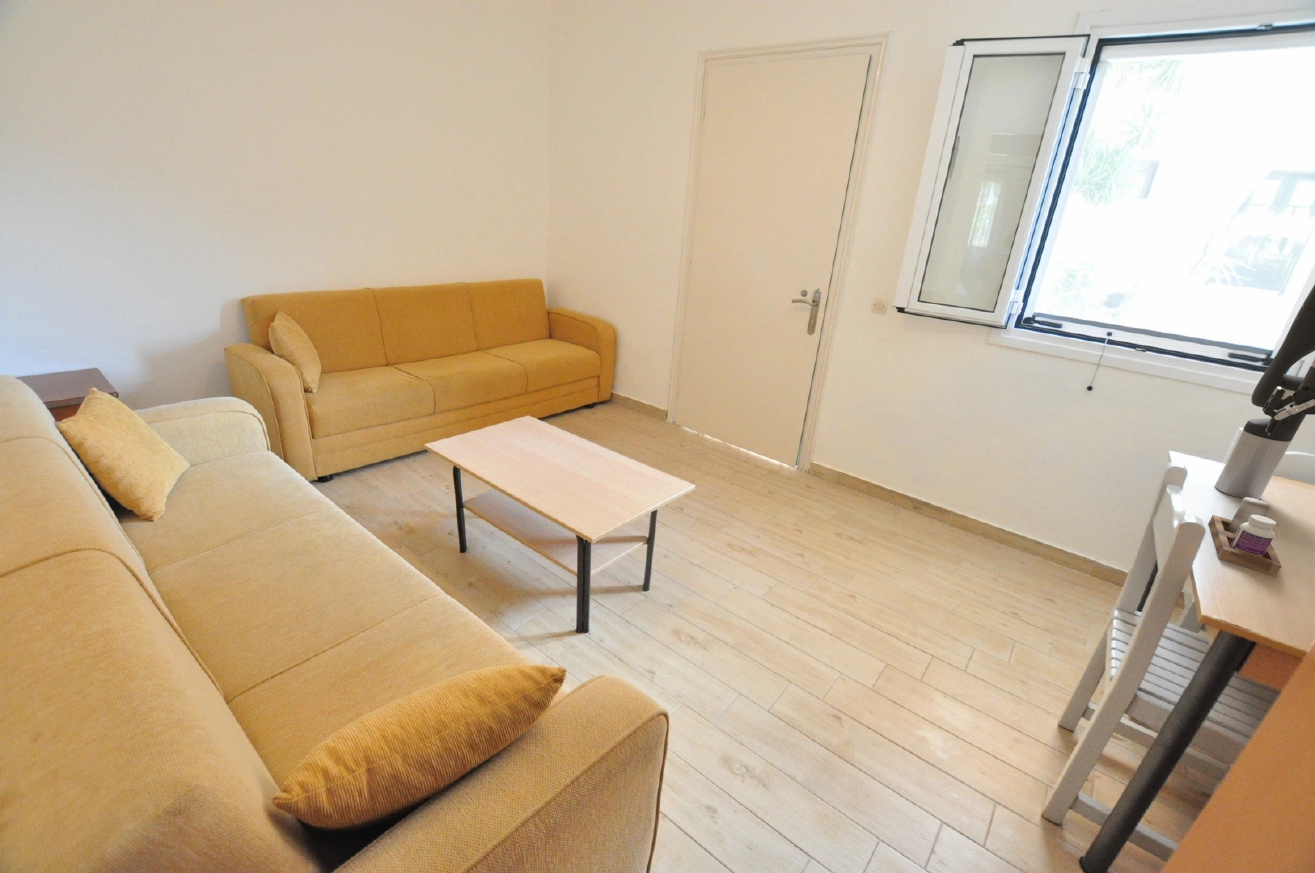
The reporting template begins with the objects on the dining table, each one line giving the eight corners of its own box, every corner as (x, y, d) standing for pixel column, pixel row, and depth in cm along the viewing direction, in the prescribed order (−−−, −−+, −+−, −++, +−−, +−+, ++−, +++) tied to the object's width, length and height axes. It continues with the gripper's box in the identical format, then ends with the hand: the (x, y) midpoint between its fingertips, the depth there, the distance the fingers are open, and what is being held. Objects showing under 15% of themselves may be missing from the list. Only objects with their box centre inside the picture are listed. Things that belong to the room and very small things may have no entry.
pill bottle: (1266, 566, 120) (1288, 527, 117) (1238, 562, 121) (1259, 523, 118) (1247, 552, 125) (1268, 514, 122) (1220, 548, 126) (1240, 511, 123)
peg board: (1208, 523, 137) (1226, 487, 133) (1258, 537, 132) (1279, 500, 128) (1218, 558, 122) (1239, 518, 118) (1275, 576, 117) (1300, 535, 113)
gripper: (1385, 371, 112) (1341, 445, 119) (1285, 356, 120) (1249, 426, 127) (1398, 380, 107) (1351, 456, 113) (1292, 364, 114) (1254, 436, 121)
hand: (1298, 440), depth 120 cm, fingers open, 8 cm apart
